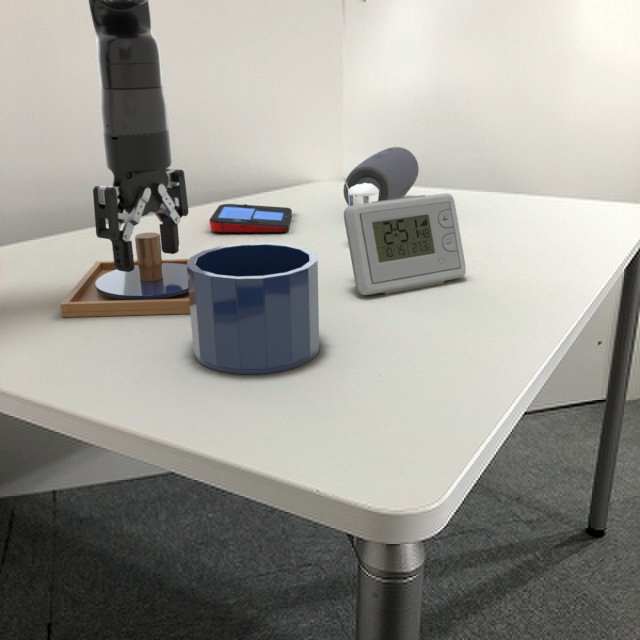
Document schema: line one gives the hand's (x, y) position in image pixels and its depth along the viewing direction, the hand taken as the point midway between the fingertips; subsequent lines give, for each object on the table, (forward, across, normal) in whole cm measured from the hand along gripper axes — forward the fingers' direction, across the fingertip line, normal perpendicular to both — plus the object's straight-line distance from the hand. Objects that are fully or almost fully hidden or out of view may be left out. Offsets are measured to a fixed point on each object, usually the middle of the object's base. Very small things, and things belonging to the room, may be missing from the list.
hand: (148, 261), depth 96 cm
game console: (+4, -36, -8) cm, 37 cm away
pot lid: (+3, 0, 0) cm, 3 cm away
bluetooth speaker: (+4, -55, +8) cm, 56 cm away
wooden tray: (+4, 0, 0) cm, 4 cm away
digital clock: (+4, -16, +28) cm, 32 cm away
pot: (+4, +10, +22) cm, 25 cm away
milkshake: (+4, -31, +14) cm, 35 cm away
